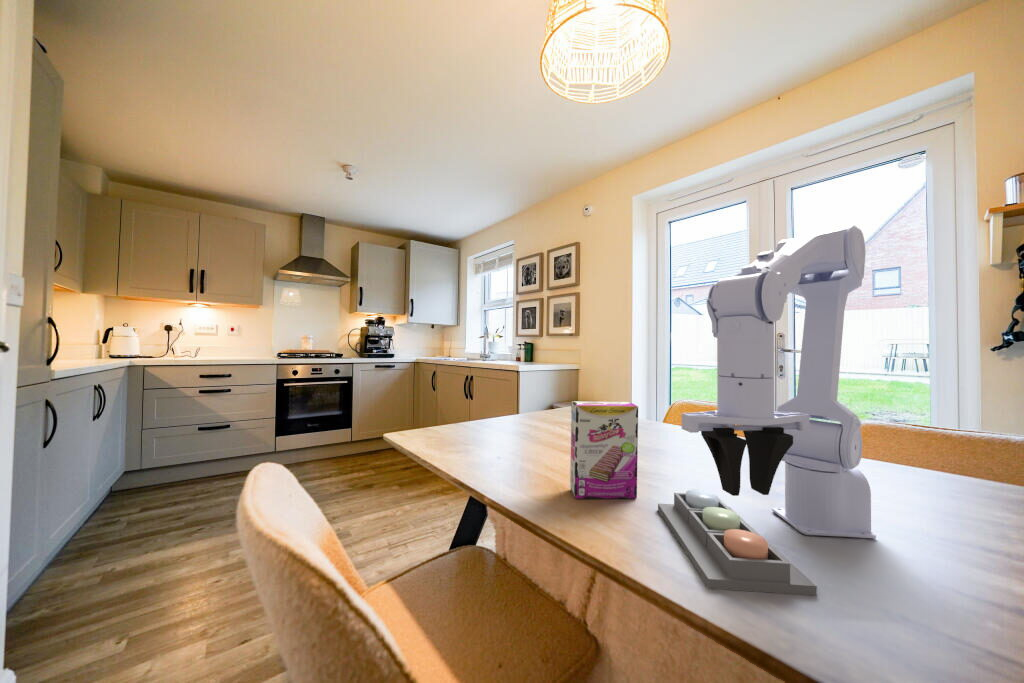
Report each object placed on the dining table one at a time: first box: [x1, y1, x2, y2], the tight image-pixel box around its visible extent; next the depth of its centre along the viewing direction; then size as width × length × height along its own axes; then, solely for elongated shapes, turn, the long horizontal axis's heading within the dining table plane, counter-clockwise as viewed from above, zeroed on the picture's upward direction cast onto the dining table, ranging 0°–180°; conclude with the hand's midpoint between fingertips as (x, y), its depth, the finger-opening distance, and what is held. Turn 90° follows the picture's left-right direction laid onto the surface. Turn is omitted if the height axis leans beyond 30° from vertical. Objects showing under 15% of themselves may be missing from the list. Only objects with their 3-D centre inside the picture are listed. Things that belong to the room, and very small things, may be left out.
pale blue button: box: [685, 489, 719, 509], centre depth 57 cm, size 4×4×2 cm
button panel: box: [657, 492, 818, 596], centre depth 51 cm, size 11×20×3 cm, turn 174°
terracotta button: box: [724, 529, 768, 560], centre depth 44 cm, size 4×4×2 cm
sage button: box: [703, 507, 741, 530], centre depth 51 cm, size 4×4×2 cm
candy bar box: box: [569, 400, 639, 499], centre depth 68 cm, size 11×5×16 cm, turn 92°
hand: (745, 492), depth 44 cm, fingers open, 3 cm apart
